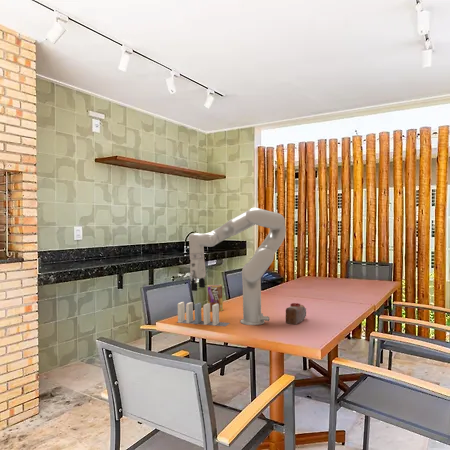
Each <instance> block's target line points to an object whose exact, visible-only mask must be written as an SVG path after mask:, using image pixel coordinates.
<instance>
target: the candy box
mask: <svg viewBox="0 0 450 450" xmlns="http://www.w3.org/2000/svg"><path fill="white" fill-rule="evenodd" d="M206 288H207V303H210V312H212V305H214V304H219V312H220V311H221V312H223V311H224V304H223V303H224V302H223V285H222V284H208V285H207V287H206Z"/></svg>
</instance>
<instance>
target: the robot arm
mask: <svg viewBox="0 0 450 450" xmlns="http://www.w3.org/2000/svg"><path fill="white" fill-rule="evenodd" d="M285 223H286V219H285V217H284V215H282V214H281V213H279V212H274V211H269V210H266V209H262V208H259V207H255V206H254V207H251V208H249V209H247V210H246V211H244V212H242V213H240V214H239V215H237V216H235V217H233V218H231V219H229V220H227V222H225V223H223V224H222V225H221V226H219V227H217V228H214V229H213V230H211V231H210V232H205V233H201V232H195V233H194V232H193V233H190V234H189V235H188V243H189V245H188V246H189V260H190V262H189V263H190V265H189V268H190V269H189V270H190V272H189V273H190V274H189V280H190V291H192V292H193V291H194V292H195V291H198V287H199V288H202V289H203V288H206V276H207V272H206V270H207V269H206V262H205V248H204V247H209V248H211V247H215V246H216V245H218V244H220V243H222V242H223V241H225V240H227V239H229V238H231V237H234V236H237V235H238V234H241V233H242V232H244V231H246V230H248V229H250V228H252V227H253V226H259V227H262V228H263V227H264V228H267V229H269V232H268V234H267V235H266V237H265V239H264V240H263V241H262V242H261V244H260V245H259V247H257V249H256V250H255V251H254V254H253V256H252V257H251V258H250V260H249V261H248V262H246V263H245V264H244V265H243V266H242V270H241V274H242V275H241V277H242V310H243V311H242V314H243V316H242V317H243V318H242V319H241V320H240V324H242V325H246V326H261V325H263V324H265V322H266V321H267V322H269V321H270V316H266V315H264V313H263V312H262V286H261V285H262V283H261V282H262V281H261V280H262V279H261V278H262V277H263V276H264V274H265V273H266V272H267V270H268V269H269V267H270V266H271V265H272V263H273V261H274V258H275V254H276V253H277V251H278V250H279V248H280V247H281V246H282V244H283V242H284V240H285V237H286V235H287V234H286V233H287V232H286V231H287V230H286V229H287V228H286V224H285ZM197 281H198V282H197Z"/></svg>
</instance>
